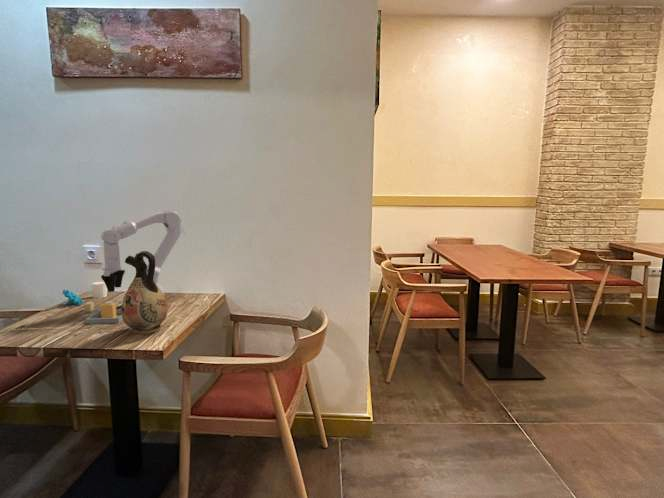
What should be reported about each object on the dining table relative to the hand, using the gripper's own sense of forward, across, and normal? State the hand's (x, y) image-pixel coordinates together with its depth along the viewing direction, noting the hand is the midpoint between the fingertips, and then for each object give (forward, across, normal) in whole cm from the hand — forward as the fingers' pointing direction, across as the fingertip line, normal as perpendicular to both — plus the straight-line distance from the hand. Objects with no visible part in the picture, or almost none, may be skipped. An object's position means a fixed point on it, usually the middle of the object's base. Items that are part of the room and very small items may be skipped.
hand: (114, 289), depth 171 cm
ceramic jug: (+10, +28, +21) cm, 36 cm away
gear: (+10, -10, -21) cm, 26 cm away
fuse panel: (+9, +1, -7) cm, 11 cm away
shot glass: (+10, -24, -16) cm, 31 cm away
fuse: (+9, +13, +2) cm, 16 cm away
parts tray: (+9, +13, +2) cm, 16 cm away
